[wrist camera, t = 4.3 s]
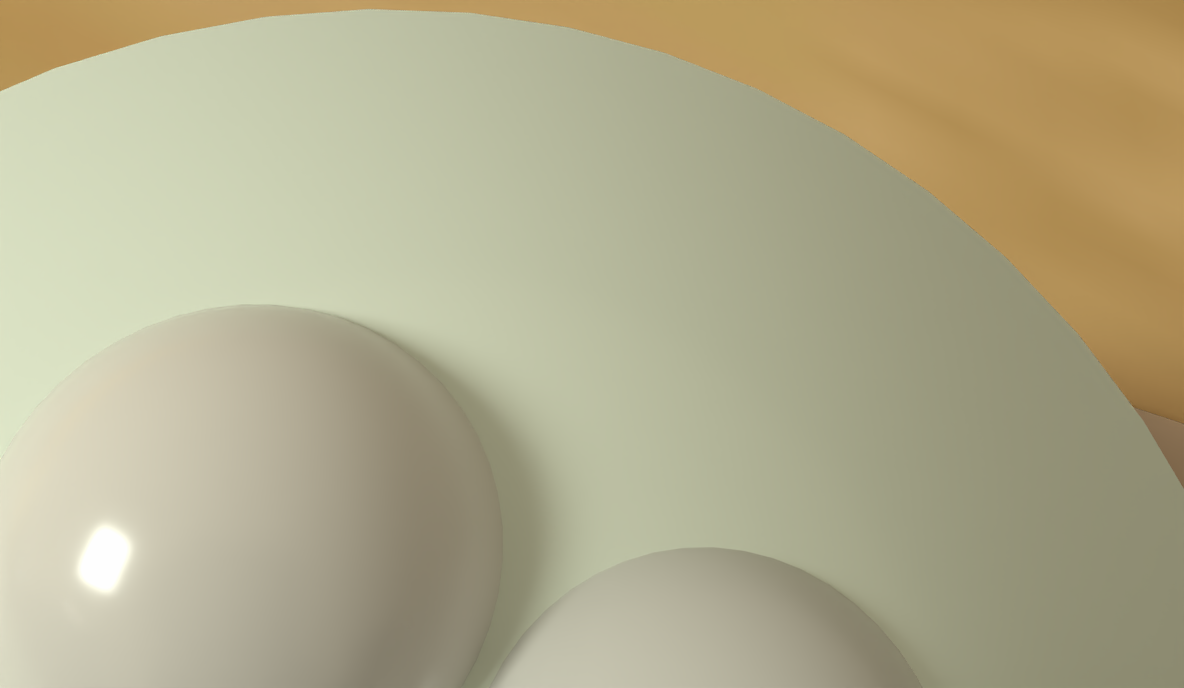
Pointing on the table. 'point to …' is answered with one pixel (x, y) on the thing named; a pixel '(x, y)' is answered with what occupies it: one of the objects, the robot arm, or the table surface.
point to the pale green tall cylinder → (533, 386)
